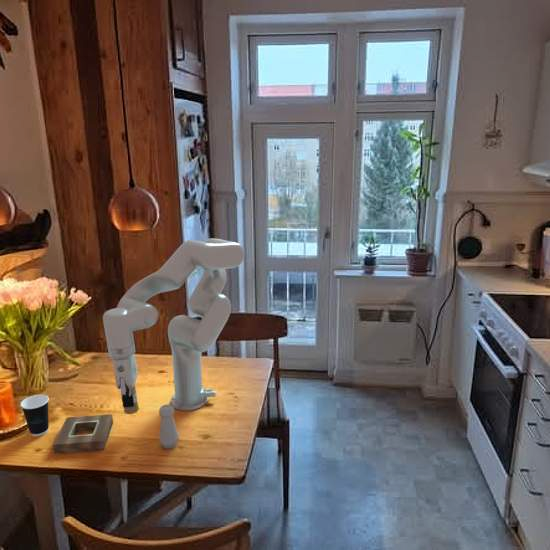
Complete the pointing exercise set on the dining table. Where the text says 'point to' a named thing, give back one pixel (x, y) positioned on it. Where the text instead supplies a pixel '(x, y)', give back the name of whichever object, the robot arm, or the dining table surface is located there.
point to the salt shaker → (167, 427)
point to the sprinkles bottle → (135, 408)
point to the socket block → (83, 443)
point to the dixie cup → (36, 414)
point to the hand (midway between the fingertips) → (130, 401)
